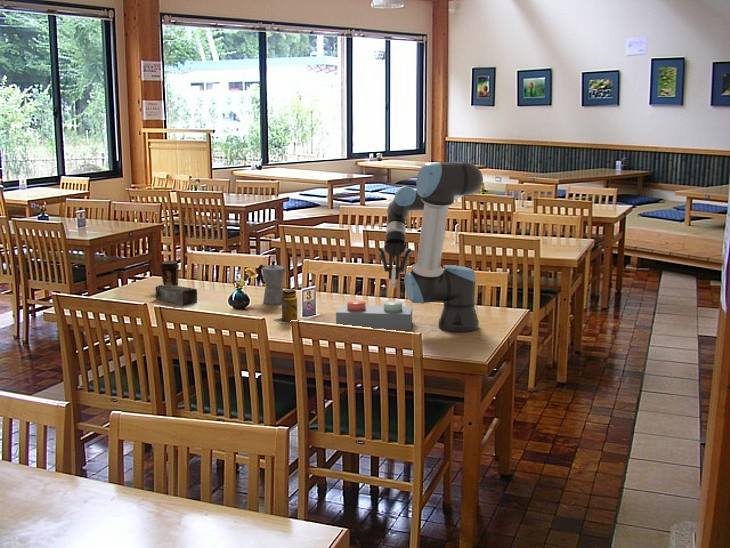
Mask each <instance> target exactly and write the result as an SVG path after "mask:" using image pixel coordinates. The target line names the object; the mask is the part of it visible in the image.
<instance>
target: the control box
mask: <svg viewBox="0 0 730 548" xmlns="http://www.w3.org/2000/svg"><path fill="white" fill-rule="evenodd" d="M412 323H413V306H402V311H400V312H386V311H384V305H366V309H365V310H363V311H349V310H347V304H340V305H339V307H338V308H337V310H336V312H335V325H336V324H343V325H352V326H362V327H371V328H384V329H383V330H394V329H395V330H399V331H400V330H401V331H403V330H404V331H411V328H412V325H413V324H412Z"/></svg>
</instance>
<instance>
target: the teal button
mask: <svg viewBox="0 0 730 548" xmlns="http://www.w3.org/2000/svg"><path fill="white" fill-rule="evenodd" d="M383 306H384V311H386V312H400V311H402V307H403V303H402V302H400V301H385V302H384V303H383Z"/></svg>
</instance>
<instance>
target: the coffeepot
mask: <svg viewBox="0 0 730 548" xmlns="http://www.w3.org/2000/svg"><path fill="white" fill-rule="evenodd" d="M270 262H271V264H270V265H267V264H260V265H259V266H258V267H257V272H258V275H259V279H260V282H261V283H262V284H265V289H264V294H263V303H264V304H265V305H274V306H275V305H276V306H277V305H282V297H283V296H282V294H283V290H284V289H283V285H282V284H283V281H284V274H285V272H286V269H285V267H284V266H282V265H277V264H276V261H275V260H271V261H270Z"/></svg>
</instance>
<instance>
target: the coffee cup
mask: <svg viewBox="0 0 730 548" xmlns="http://www.w3.org/2000/svg"><path fill="white" fill-rule="evenodd" d="M159 265H160V266H159V269H160V271H161V272H160V273H161V280H162V285H167V284H171V285H176V286H179V267H180V265H179V263H178V262H177V260H166V261H162V262H161V264H159Z"/></svg>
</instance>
